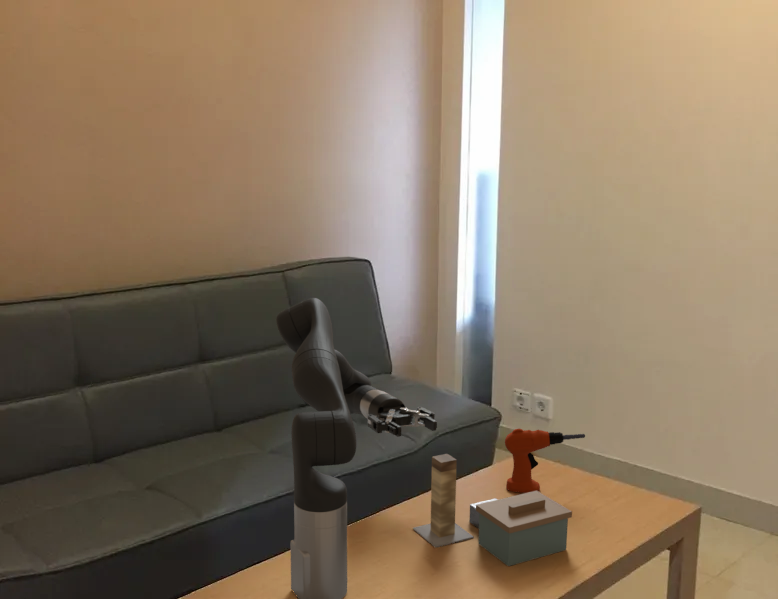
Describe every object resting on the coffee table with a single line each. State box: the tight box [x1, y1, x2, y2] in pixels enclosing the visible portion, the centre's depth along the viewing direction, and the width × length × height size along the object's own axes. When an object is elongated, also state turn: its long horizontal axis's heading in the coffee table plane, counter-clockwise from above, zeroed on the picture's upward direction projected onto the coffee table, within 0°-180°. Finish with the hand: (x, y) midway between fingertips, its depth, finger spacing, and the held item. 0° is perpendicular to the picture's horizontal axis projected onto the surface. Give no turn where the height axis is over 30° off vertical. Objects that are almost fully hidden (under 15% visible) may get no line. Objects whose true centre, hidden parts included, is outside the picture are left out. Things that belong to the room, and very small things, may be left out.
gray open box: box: [468, 498, 499, 530], centre depth 173 cm, size 7×7×4 cm
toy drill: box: [504, 428, 586, 494], centre depth 190 cm, size 5×19×15 cm, turn 85°
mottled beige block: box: [430, 453, 458, 538], centre depth 168 cm, size 4×4×16 cm
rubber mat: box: [412, 522, 474, 549], centre depth 170 cm, size 9×9×1 cm
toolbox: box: [476, 491, 573, 567], centre depth 163 cm, size 15×11×10 cm
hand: (417, 429), depth 175 cm, fingers open, 8 cm apart
